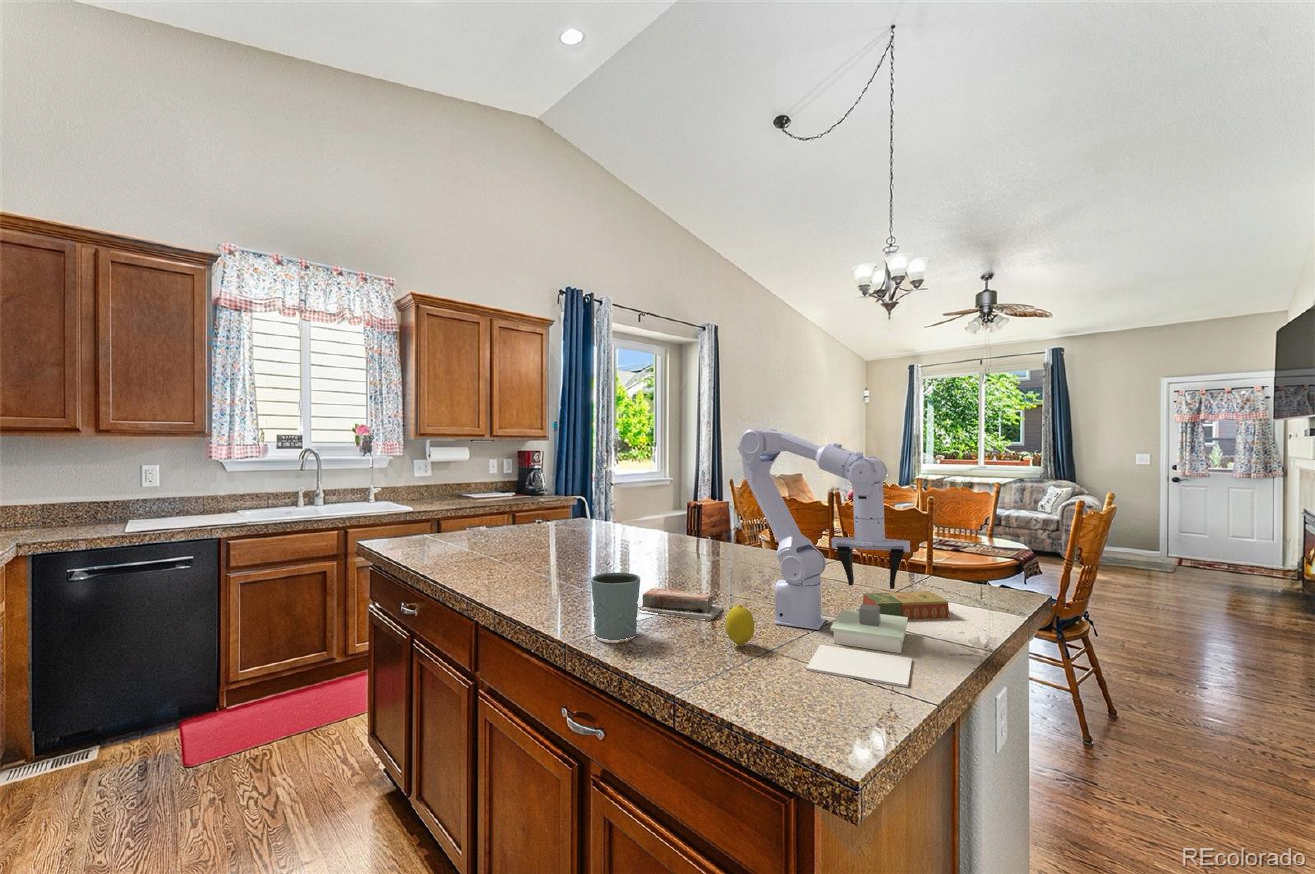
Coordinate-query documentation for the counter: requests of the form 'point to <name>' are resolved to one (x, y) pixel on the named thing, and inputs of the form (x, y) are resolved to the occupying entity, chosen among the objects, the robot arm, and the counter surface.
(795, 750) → the counter surface
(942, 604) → the carton
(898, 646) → the box
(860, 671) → the mat
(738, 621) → the lemon
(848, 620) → the lid
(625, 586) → the grey-green cup
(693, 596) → the packaged product
